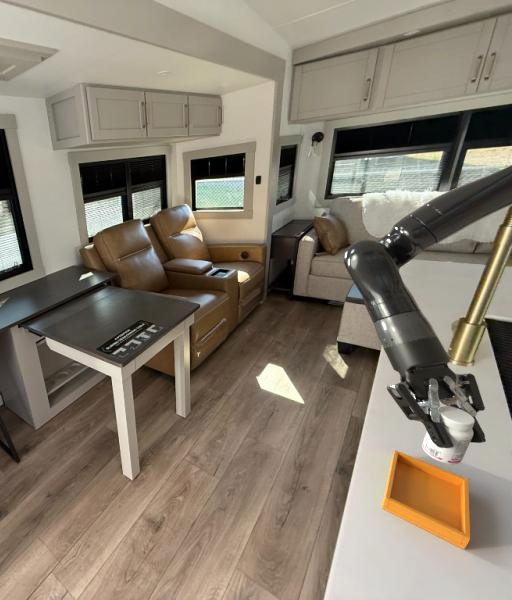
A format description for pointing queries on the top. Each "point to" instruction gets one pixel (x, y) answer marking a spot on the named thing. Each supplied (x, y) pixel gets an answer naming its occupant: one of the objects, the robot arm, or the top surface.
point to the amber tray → (429, 498)
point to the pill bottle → (452, 435)
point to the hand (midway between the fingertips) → (461, 444)
